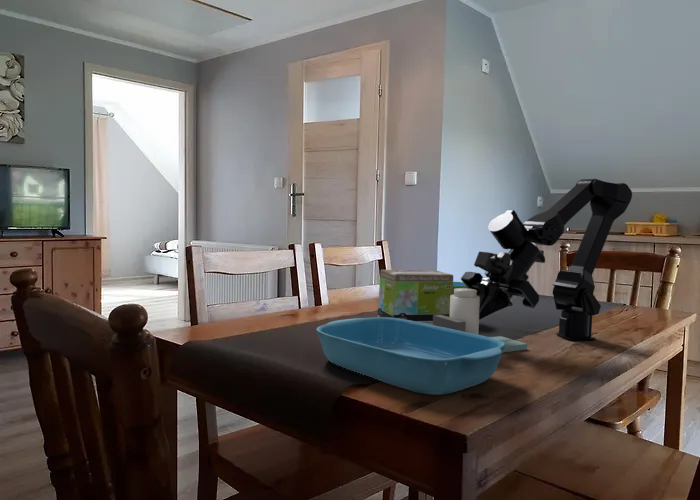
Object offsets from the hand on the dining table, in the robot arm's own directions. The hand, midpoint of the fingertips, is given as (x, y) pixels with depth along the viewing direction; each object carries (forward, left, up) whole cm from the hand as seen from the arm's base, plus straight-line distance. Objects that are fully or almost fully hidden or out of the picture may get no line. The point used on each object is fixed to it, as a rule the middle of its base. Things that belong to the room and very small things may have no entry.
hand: (476, 318), depth 118 cm
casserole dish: (+20, +12, -7) cm, 24 cm away
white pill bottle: (+3, +1, -5) cm, 6 cm away
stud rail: (-2, -1, -7) cm, 7 cm away
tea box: (+7, -18, -7) cm, 21 cm away
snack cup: (-8, -30, -7) cm, 32 cm away
